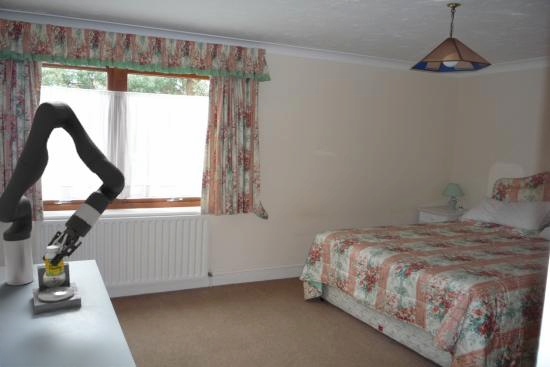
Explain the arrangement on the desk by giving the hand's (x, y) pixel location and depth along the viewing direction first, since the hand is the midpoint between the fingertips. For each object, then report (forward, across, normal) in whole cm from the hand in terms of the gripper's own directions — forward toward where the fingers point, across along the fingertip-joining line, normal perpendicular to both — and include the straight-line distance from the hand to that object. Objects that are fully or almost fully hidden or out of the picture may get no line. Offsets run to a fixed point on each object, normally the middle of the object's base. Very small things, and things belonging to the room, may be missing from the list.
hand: (48, 262), depth 151 cm
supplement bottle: (+2, 0, +5) cm, 5 cm away
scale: (+8, -9, +16) cm, 21 cm away
